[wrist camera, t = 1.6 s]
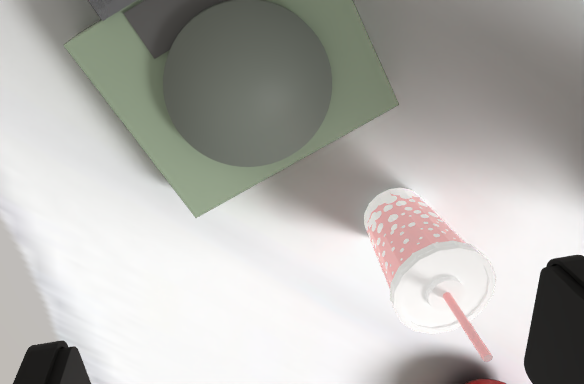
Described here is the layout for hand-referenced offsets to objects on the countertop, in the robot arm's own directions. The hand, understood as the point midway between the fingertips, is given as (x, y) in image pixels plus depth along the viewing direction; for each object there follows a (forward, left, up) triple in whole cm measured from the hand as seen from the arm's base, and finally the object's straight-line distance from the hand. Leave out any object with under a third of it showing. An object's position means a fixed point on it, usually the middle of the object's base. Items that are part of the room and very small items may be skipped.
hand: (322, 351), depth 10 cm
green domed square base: (0, -1, -23) cm, 23 cm away
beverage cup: (-4, +14, -23) cm, 28 cm away
